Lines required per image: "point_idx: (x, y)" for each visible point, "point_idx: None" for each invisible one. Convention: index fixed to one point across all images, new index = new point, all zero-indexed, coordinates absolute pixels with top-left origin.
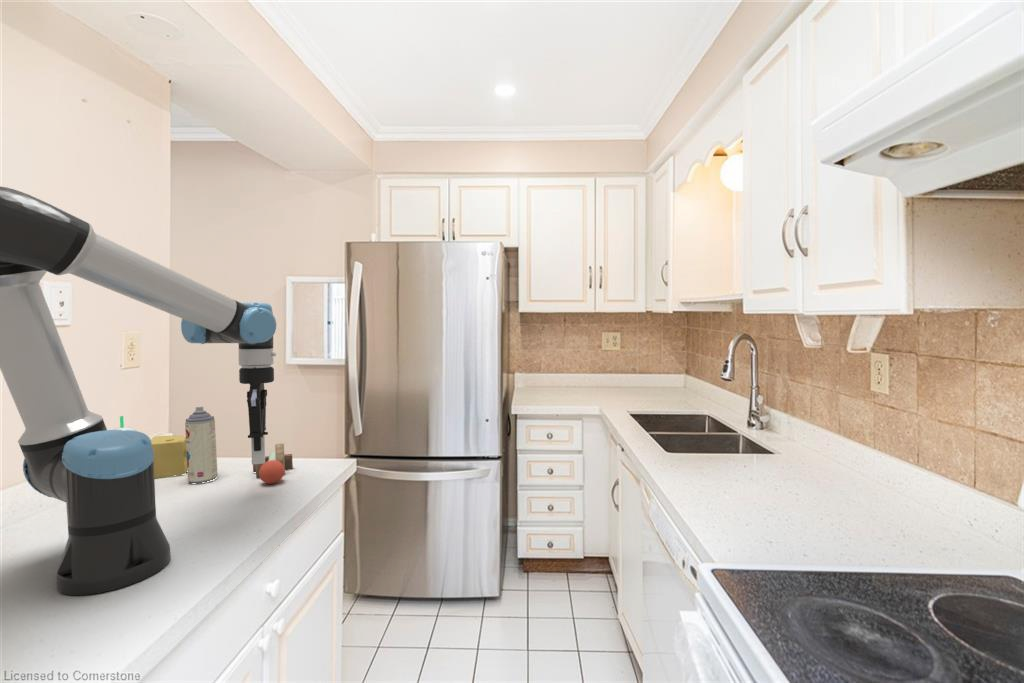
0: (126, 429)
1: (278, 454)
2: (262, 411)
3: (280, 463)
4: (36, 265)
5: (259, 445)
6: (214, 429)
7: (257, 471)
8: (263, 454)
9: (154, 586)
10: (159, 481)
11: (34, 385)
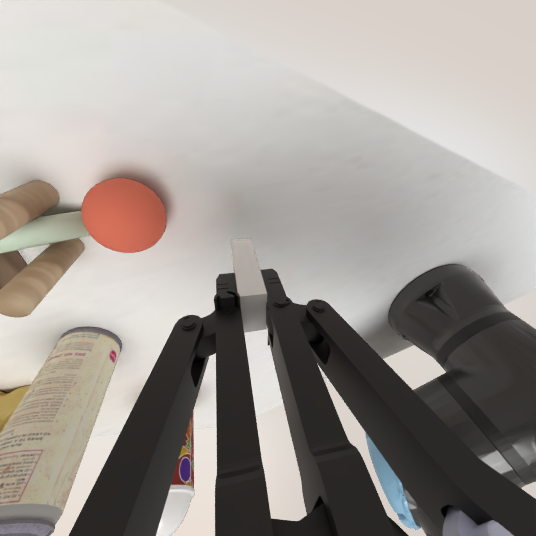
0: (162, 534)
1: (11, 224)
2: (314, 425)
3: (113, 198)
4: None
5: (280, 282)
6: (6, 465)
7: (74, 260)
8: (254, 254)
9: (491, 257)
10: None
11: None
